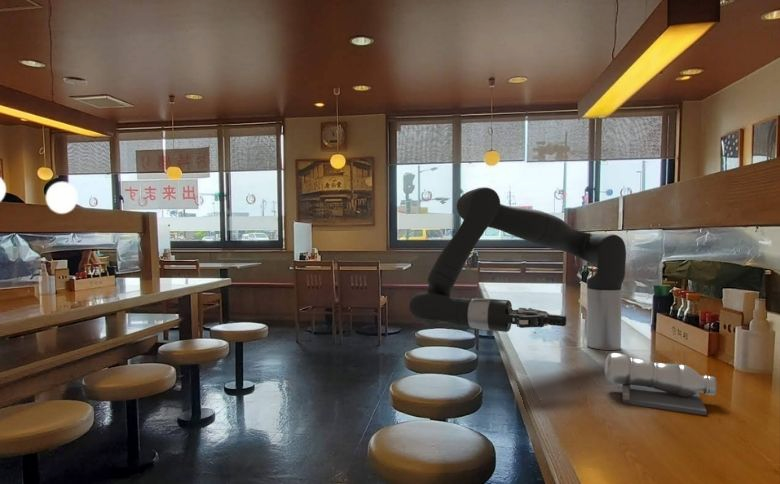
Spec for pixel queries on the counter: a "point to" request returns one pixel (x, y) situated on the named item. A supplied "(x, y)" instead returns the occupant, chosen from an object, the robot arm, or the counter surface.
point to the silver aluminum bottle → (657, 376)
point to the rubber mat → (662, 399)
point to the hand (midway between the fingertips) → (566, 320)
